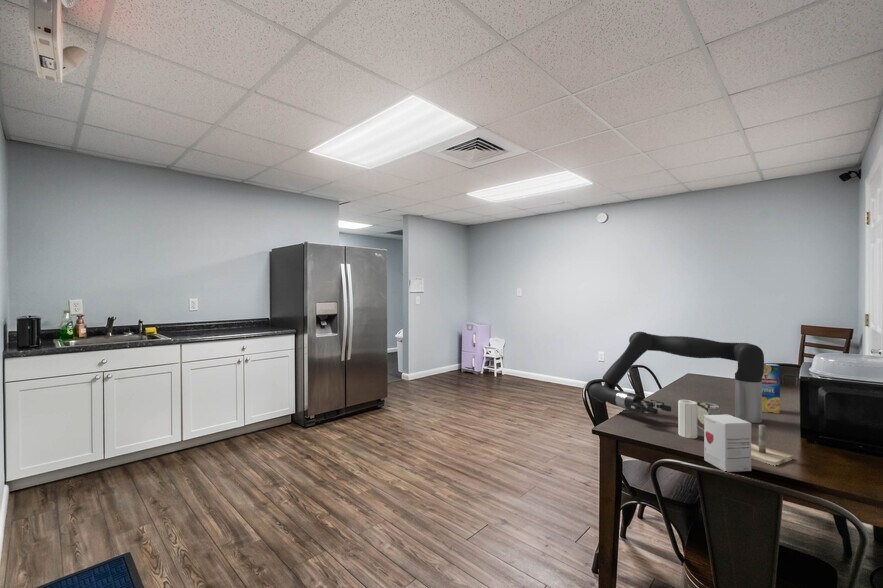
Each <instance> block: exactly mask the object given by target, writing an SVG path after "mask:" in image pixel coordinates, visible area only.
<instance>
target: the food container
mask: <svg viewBox="0 0 883 588" xmlns="http://www.w3.org/2000/svg"><path fill="white" fill-rule="evenodd" d="M695 402H697V428H699V429H701V430H702V431H704V415H720V413H721V409H720V407H719V405H717V404H716V403H712V402H706V401H701V400H695Z"/></svg>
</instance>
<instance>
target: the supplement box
mask: <svg viewBox="0 0 883 588" xmlns="http://www.w3.org/2000/svg"><path fill="white" fill-rule="evenodd" d="M703 432H704V433H703V437H704V438H703V440H704V443H703V445H704V446H703V449H704V450H703V451H704V452H703V455H704V456H703V457H704V458H703V460H704V461H705V462H707V463H709V464H710V465H712V466H714V467H715V468H717V469H720V470H721V471H723V472H725V471H727V472H726V473H730V472H731V473H733V472H752V459H751V443H752V423H750V422H747V421H744V420H742V419H739V418H736V417H735V415H734V416H733V415H731V414H718V415H704V430H703Z"/></svg>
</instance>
